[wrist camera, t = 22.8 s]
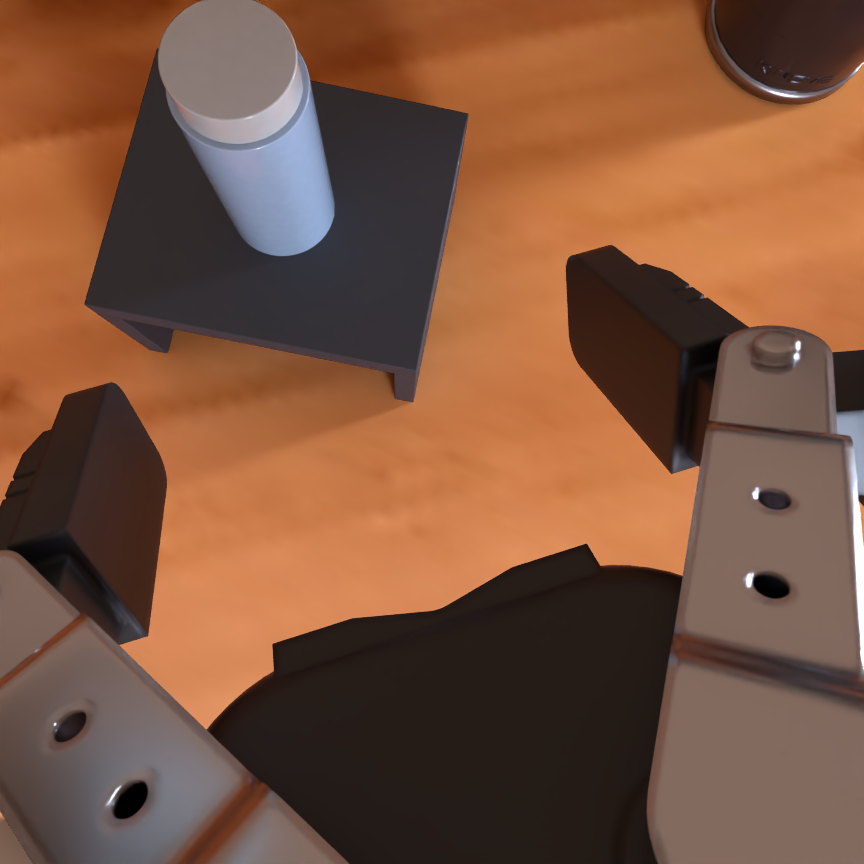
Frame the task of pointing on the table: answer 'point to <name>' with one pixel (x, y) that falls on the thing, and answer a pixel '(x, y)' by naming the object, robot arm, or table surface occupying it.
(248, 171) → the salt shaker
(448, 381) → the table surface
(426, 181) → the shelf
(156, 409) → the table surface
